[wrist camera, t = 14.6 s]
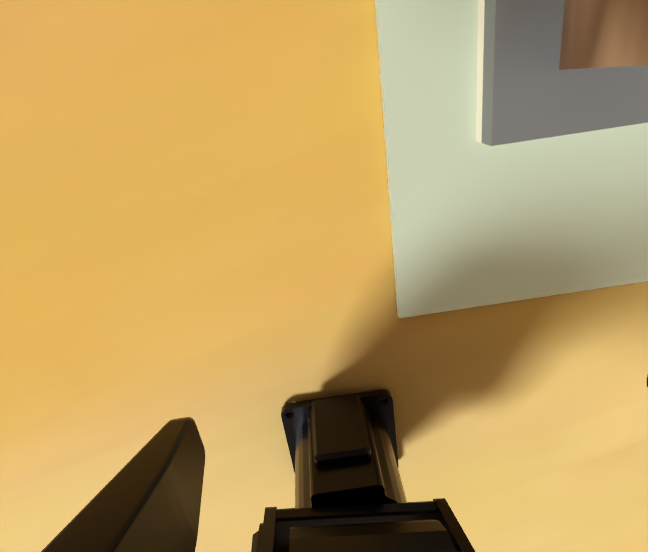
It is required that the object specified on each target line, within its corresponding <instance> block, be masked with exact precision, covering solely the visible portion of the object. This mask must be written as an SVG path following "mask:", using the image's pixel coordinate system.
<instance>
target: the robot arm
mask: <svg viewBox="0 0 648 552" xmlns="http://www.w3.org/2000/svg"><path fill="white" fill-rule="evenodd" d="M647 387H648V376H647ZM381 398H386V399H384V400H381ZM287 412H293V413H291V414H290V413H287ZM281 417H282V421H283V426H284V430H285V434H286V438H287V442H288V447H289V451H290V455H291V459H292V463H293V468H294V472H295V508H289V509H277V507H266V508H265V515H264V522H263V523H260V526H259V531H257V532H256V533H255V534H253V540H252V550H251V552H475V550H474V549H473V547H472V545H471V543H470V542H469V540H468V538H467V536H466V535H465V533H464V531H463V529H462V528H461V526H460V524H459V522H458V521H457V519H456V517H455V515H454V514H453V512H452V510H451V508H450V507H449V505H448V503H447V501H446V500H445V498H442V499H433V501H425V502H407V501H406V497H405V493H404V490H403V486H402V482H401V478H400V474H399V471H398V457H397V445H396V434H395V422H394V411H393V400H392V396H391V393H390V392H389V391H388V390H376V391H370V392H363V393H356V394H350V395H343V396H336V397H329V398H323V399H316V400H309V401H303V402H296V403H289V404H286V405H284V406H283V407H282V411H281ZM204 465H205V450H204V446H203V443H202V440H201V438H200V435H199V432H198V429H197V426H196V424H195V421H194V420H193V419H192V418H190V417H185V418H179V419H173V420H170V421H169V422H168V423H167V424H166V425H165V426H164V427H163V428H162V429H161V430H160V431H159V432H158V433H157V434H156V435H155V436H154V437H153V438H152V439H151V440H150V441H149V442H148V443H147V444H146V445H145V446H144V447H143V448H142V449H141V450H140V451H139V452H138V453H137V454H136V455H135V456H134V457H133V458H132V459H131V460H130V461H129V462H128V463H127V464H126V466H125V467H124V468H123V469H122V470H121V471H120V472H119V473H118V474H117V475H116V476H115V477H114V478H113V479H112V480H111V481H110V482H109V483H108V484H107V485H106V486H105V487H104V488H103V489H102V490H101V491H100V492H99V493H98V494H97V495H96V496H95V497H94V498H93V499H92V500H91V501H90V502H89V503H88V504H87V505H86V506H85V507H84V508H83V509H82V510H81V511H80V513H79V514H78V515H77V516H76V517H75V518H74V519H73V520H72V521H71V522H70V523H69V524H68V525H67V526H66V527H65V528H64V529H63V530H62V531H61V532H60V533H59V534H58V535H57V536H56V537H55V538H54V539H53V540H52V541H51V542H50V543H49V544H48V545H47V546H46V547H45V548H44V549H43V550H42V551H41V552H195V547H196V542H197V534H198V525H199V515H200V505H201V495H202V485H203V475H204Z"/></svg>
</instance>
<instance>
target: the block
mask: <svg viewBox="0 0 648 552" xmlns="http://www.w3.org/2000/svg"><path fill="white" fill-rule="evenodd" d="M639 65H648V0H565V4H564V16H563V28H562V39H561V51H560V63H559V70H566V69H584V68H602V67H620V66H639Z"/></svg>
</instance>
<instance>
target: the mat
mask: <svg viewBox="0 0 648 552" xmlns="http://www.w3.org/2000/svg"><path fill="white" fill-rule="evenodd" d="M375 11H376V25H377V39H378V52H379V66H380V80H381V94H382V108H383V122H384V135H385V149H386V163H387V177H388V191H389V205H390V218H391V232H392V246H393V260H394V274H395V288H396V301H397V315H398V317H399V318H405V317H412V316H419V315H425V314H432V313H439V312H445V311H452V310H459V309H466V308H472V307H479V306H486V305H492V304H499V303H506V302H512V301H519V300H526V299H532V298H539V297H546V296H552V295H559V294H566V293H572V292H579V291H586V290H592V289H599V288H606V287H612V286H619V285H626V284H632V283H639V282H646V281H648V123H641V124H635V125H628V126H622V127H615V128H608V129H602V130H595V131H589V132H582V133H575V134H569V135H562V136H555V137H549V138H542V139H536V140H529V141H522V142H516V143H509V144H503V145H496V146H489V145H486V144H483V143H480V142H477V141H476V113H477V53H478V0H375Z"/></svg>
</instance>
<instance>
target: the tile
mask: <svg viewBox="0 0 648 552" xmlns="http://www.w3.org/2000/svg"><path fill="white" fill-rule="evenodd" d="M564 4H565V0H478V53H477V113H476V141H477V142H480V143H483V144H486V145H489V146H496V145H503V144H509V143H516V142H522V141H529V140H536V139H542V138H549V137H555V136H562V135H569V134H575V133H582V132H589V131H595V130H602V129H608V128H615V127H622V126H628V125H635V124H641V123H648V65H639V66H620V67H602V68H584V69H566V70H559V63H560V51H561V39H562V28H563V16H564Z"/></svg>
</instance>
